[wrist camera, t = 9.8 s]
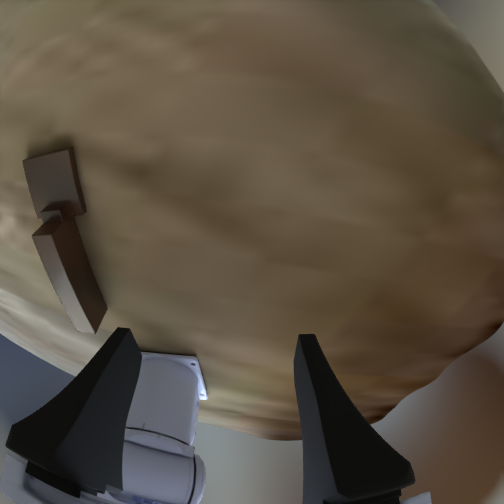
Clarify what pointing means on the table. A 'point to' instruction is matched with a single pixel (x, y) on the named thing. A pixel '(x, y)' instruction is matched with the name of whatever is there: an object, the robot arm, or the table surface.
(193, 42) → the table surface
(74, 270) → the spatula
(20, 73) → the table surface
